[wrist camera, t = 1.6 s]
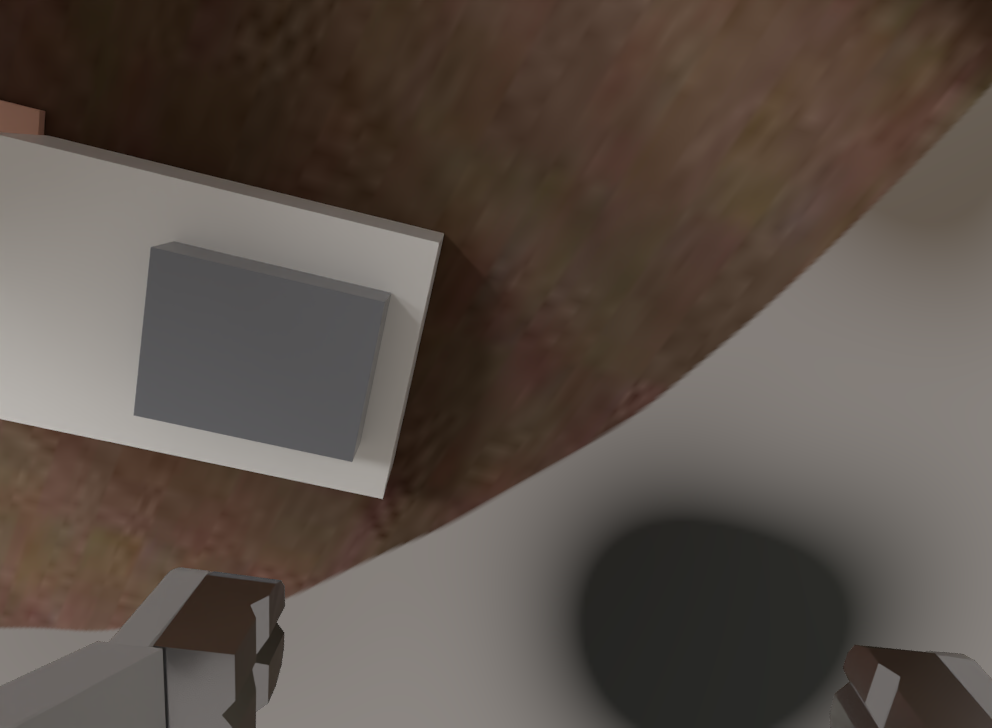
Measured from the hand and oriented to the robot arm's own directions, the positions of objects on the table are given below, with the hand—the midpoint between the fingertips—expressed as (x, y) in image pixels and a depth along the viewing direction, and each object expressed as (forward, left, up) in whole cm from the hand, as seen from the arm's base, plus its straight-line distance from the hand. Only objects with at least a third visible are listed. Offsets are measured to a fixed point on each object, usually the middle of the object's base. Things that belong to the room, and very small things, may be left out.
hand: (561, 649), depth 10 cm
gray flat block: (-10, -3, -20) cm, 22 cm away
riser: (-13, -3, -24) cm, 27 cm away
